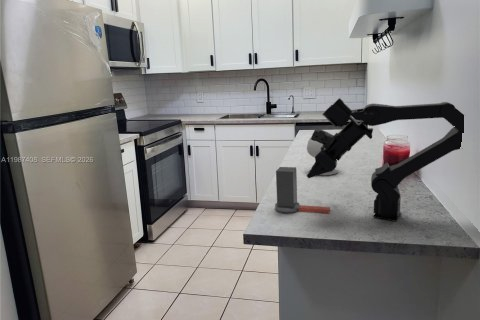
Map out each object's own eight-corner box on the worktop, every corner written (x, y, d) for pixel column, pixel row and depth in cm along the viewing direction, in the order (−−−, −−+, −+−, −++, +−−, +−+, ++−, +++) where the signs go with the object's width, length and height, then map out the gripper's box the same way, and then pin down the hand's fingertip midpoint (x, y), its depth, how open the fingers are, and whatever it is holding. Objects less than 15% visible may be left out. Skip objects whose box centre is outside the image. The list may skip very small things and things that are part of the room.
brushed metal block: (297, 202, 120) (296, 167, 118) (293, 208, 116) (292, 171, 113) (281, 201, 122) (280, 166, 120) (277, 207, 117) (275, 171, 115)
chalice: (305, 176, 155) (305, 141, 151) (308, 168, 168) (308, 135, 165) (340, 177, 151) (340, 141, 148) (340, 168, 164) (340, 135, 161)
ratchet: (331, 207, 118) (331, 195, 117) (328, 216, 111) (328, 204, 110) (278, 204, 124) (278, 192, 123) (272, 212, 117) (271, 200, 116)
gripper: (330, 115, 117) (297, 148, 123) (323, 123, 100) (284, 161, 106) (356, 139, 116) (321, 172, 122) (353, 152, 99) (312, 189, 105)
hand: (310, 173), depth 114 cm, fingers open, 9 cm apart
